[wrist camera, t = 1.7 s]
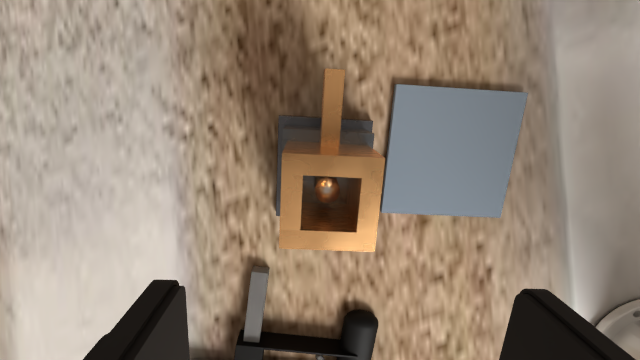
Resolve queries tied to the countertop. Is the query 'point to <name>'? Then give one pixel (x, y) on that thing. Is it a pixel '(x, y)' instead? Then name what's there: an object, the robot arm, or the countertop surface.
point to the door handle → (253, 342)
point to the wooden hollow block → (333, 161)
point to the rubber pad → (450, 150)
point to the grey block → (309, 131)
